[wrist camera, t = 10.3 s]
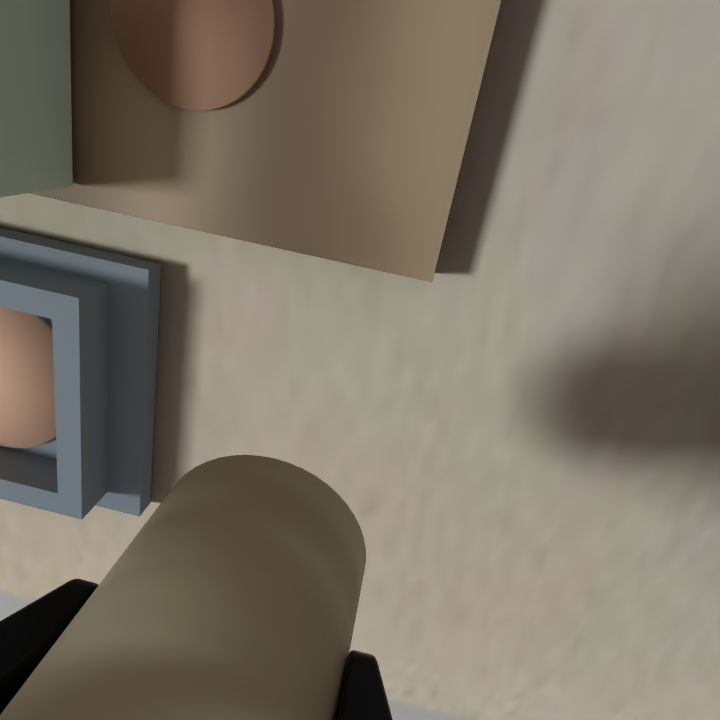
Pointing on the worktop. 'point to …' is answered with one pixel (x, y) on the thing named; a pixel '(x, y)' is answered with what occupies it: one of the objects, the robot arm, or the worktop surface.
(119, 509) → the blue-grey square tray
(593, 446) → the worktop surface
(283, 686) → the peg
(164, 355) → the worktop surface
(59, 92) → the cover
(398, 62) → the board
